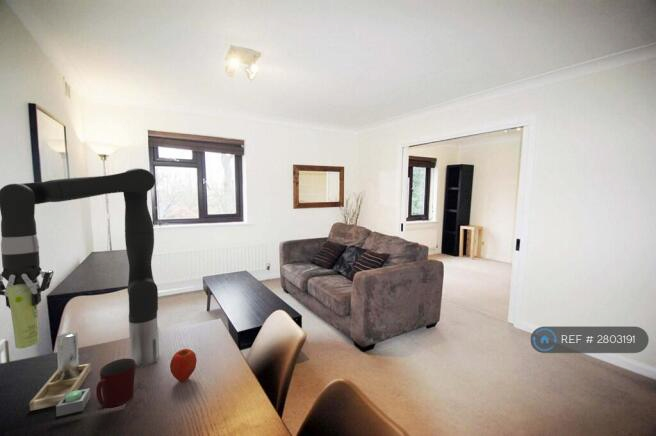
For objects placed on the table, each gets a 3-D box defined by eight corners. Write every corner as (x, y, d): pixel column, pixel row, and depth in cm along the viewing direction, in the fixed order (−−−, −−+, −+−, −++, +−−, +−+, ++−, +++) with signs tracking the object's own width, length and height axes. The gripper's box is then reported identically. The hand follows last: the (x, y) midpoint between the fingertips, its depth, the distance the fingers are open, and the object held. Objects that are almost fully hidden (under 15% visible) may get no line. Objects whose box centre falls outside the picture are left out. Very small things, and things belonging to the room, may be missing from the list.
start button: (83, 398, 87) (83, 388, 87) (79, 406, 83) (78, 396, 83) (69, 401, 85) (68, 392, 85) (63, 410, 82) (63, 399, 82)
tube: (35, 346, 84) (30, 284, 83) (11, 351, 82) (5, 286, 80) (41, 338, 89) (37, 279, 88) (18, 343, 86) (13, 281, 85)
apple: (201, 380, 99) (200, 351, 98) (175, 392, 93) (174, 361, 92) (191, 370, 105) (191, 342, 104) (166, 380, 99) (166, 351, 98)
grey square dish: (90, 400, 88) (89, 388, 88) (83, 413, 83) (82, 400, 83) (66, 405, 86) (65, 393, 86) (56, 419, 81) (56, 406, 80)
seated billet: (81, 374, 99) (80, 330, 98) (75, 383, 95) (73, 337, 94) (62, 377, 97) (60, 333, 96) (55, 387, 93) (53, 340, 92)
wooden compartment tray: (91, 372, 102) (90, 363, 102) (70, 405, 86) (69, 394, 86) (58, 378, 98) (57, 369, 98) (30, 413, 82) (29, 402, 82)
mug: (113, 418, 81) (112, 382, 81) (84, 417, 82) (82, 381, 81) (142, 390, 93) (141, 358, 93) (116, 389, 94) (115, 358, 93)
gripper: (-23, 254, 77) (-18, 314, 78) (45, 251, 83) (49, 307, 84) (-4, 250, 84) (0, 305, 85) (57, 247, 90) (60, 298, 91)
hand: (24, 305), depth 85 cm, fingers closed on tube, 4 cm apart
